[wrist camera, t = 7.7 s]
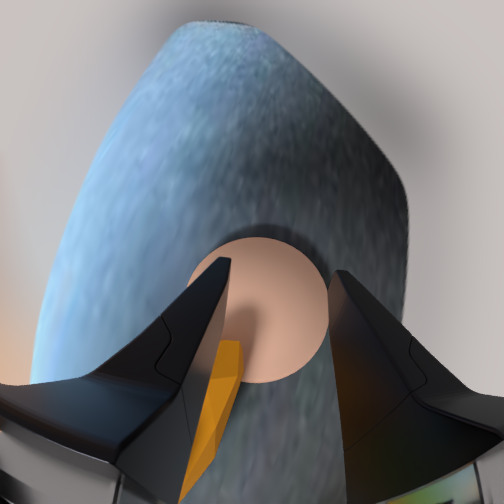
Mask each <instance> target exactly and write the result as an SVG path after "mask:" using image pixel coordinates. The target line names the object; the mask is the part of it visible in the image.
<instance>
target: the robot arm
mask: <svg viewBox="0 0 504 504" xmlns="http://www.w3.org/2000/svg"><path fill="white" fill-rule="evenodd" d="M231 262H232V259H231V258H230V257H221V256H219V257H217V258H216V259H215V260H214V261H213V262H212V263H211V264H210V265H209V266H208V267H207V268H206V269H205V270H204V271H203V272H202V273H201V274H200V275H199V276H198V277H197V278H196V279H195V280H194V281H193V282H192V283H191V284H190V285H189V286H188V287H187V288H186V289H185V290H184V291H183V292H182V293H181V294H180V295H179V296H178V297H177V298H176V299H175V300H174V301H173V302H172V303H171V304H170V305H169V306H168V307H167V308H166V309H165V310H164V311H163V312H162V313H161V314H160V316H158V317H157V318H156V319H155V320H154V321H153V322H152V323H151V324H150V325H149V326H148V327H147V328H146V329H145V330H144V331H143V332H141V333H140V334H139V335H138V336H137V337H136V338H134V339H133V340H132V341H131V342H130V343H128V344H127V345H126V346H125V347H123V348H122V349H121V350H119V351H118V352H117V353H116V354H114V355H113V356H112V357H111V358H109V359H108V360H107V361H105V362H104V363H103V364H102V365H100V366H99V367H98V368H96V369H95V370H94V371H92V372H90V373H89V374H86V375H84V376H82V377H79V378H74V379H67V380H61V381H54V382H47V383H39V384H31V385H21V386H13V385H5V384H1V383H0V504H178V502H179V498H180V494H181V490H182V486H183V482H184V478H185V474H186V470H187V466H188V462H189V458H190V454H191V450H192V446H193V442H194V438H195V435H196V431H197V427H198V423H199V419H200V415H201V411H202V407H203V404H204V400H205V396H206V392H207V388H208V384H209V381H210V377H211V373H212V369H213V365H214V362H215V358H216V354H217V350H218V346H219V343H220V339H221V335H222V331H223V327H224V322H225V314H226V306H227V298H228V290H229V282H230V272H231ZM327 297H328V318H329V336H330V344H331V350H332V357H333V364H334V371H335V379H336V386H337V394H338V402H339V411H340V420H341V429H342V439H343V450H344V464H345V477H346V493H347V504H504V397H498V396H491V395H485V394H480V393H477V392H474V391H472V390H471V389H469V388H468V387H466V386H465V385H464V384H463V383H462V382H461V381H460V380H459V379H457V378H456V377H455V376H454V375H453V374H452V373H451V372H450V371H449V370H448V369H447V368H445V367H444V366H443V365H442V364H441V363H440V362H439V361H438V360H437V359H436V358H435V357H434V356H433V355H431V354H430V353H429V352H428V351H427V350H426V349H425V348H424V347H423V346H422V345H421V344H420V343H419V341H418V340H417V339H416V338H415V337H414V336H412V334H411V333H410V332H409V331H408V330H407V329H406V328H405V327H404V326H403V325H402V324H401V323H400V322H399V321H398V320H397V319H396V318H395V317H394V316H393V315H392V314H391V313H390V312H389V311H388V310H387V309H386V308H385V307H384V306H383V305H382V304H381V303H380V302H379V301H378V300H377V299H376V298H375V297H374V296H373V295H372V294H371V293H370V292H369V291H368V290H367V289H366V288H365V287H364V286H363V285H362V284H361V283H360V282H359V281H358V280H357V279H356V278H355V277H354V276H353V275H351V274H350V273H349V272H348V271H344V270H336V271H335V272H334V274H333V277H332V280H331V283H330V285H329V288H328V294H327Z"/></svg>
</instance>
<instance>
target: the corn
mask: <svg viewBox="0 0 504 504" xmlns="http://www.w3.org/2000/svg"><path fill="white" fill-rule="evenodd" d="M243 373H244V363H243V349H242V346H241V344H240V341H232V340H221V341H220V343H219V346H218V350H217V354H216V358H215V362H214V365H213V369H212V373H211V377H210V381H209V384H208V388H207V392H206V396H205V400H204V404H203V407H202V411H201V415H200V419H199V423H198V427H197V431H196V435H195V438H194V442H193V446H192V450H191V454H190V458H189V462H188V466H187V470H186V474H185V478H184V482H183V486H182V490H181V494H180V498H179V502H178V504H179V503H180V502H181V500H182V499H183V498H184V497H185V495H186V494H187V493H188V492H189V490H190V489H191V488H192V487H193V485H194V484H195V483H196V481H197V480H198V479H199V478H200V476H201V475H202V474H203V472H204V471H205V470H206V468H207V467H208V466H209V464H210V463H211V462H212V460H213V459H214V458H215V455H216V452H217V449H218V446H219V444H220V441H221V438H222V435H223V432H224V429H225V426H226V424H227V421H228V418H229V415H230V412H231V409H232V406H233V403H234V400H235V397H236V394H237V391H238V388H239V385H240V382H241V379H242V376H243Z"/></svg>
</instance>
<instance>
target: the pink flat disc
mask: <svg viewBox="0 0 504 504" xmlns="http://www.w3.org/2000/svg"><path fill="white" fill-rule="evenodd" d="M219 256H221V257H230V258H231V259H232V262H231V272H230V282H229V290H228V298H227V306H226V314H225V322H224V327H223V331H222V335H221V339H220V341H221V340H232V341H240V344H241V346H242V349H243V363H244V373H243V376H242V379H241V382H247V383H264V382H271V381H275V380H279V379H281V378H284V377H287V376H288V375H290V374H292V373H294V372H296V371H297V370H299V369H300V368H301V367H303V366H304V365H305V364H306V363H307V362H308V361H309V360H310V359H311V358H312V357H313V355H314V354H315V353H316V352H317V350H318V348H319V347H320V345H321V343H322V341H323V339H324V337H325V334H326V331H327V328H328V322H329V318H328V297H327V294H328V293H327V289H326V286H325V283H324V281H323V279H322V277H321V275H320V273H319V271H318V270H317V268H316V267H315V266H314V264H313V263H312V262H311V261H310V260H309V259H308V258H307V257H306V256H305V255H304V254H303V253H301V252H300V251H299V250H297V249H296V248H294V247H292V246H290V245H288V244H286V243H284V242H281V241H278V240H275V239H270V238H261V237H252V238H243V239H238V240H235V241H232V242H229V243H227V244H225V245H223V246H221V247H219V248H217V249H216V250H214V251H213V252H211V253H210V254H209V255H208V256H207V257H206V258H205V259H204V260H203V261H202V262H201V263H200V264H199V265H198V267H197V268H196V270H195V271H194V273H193V274H192V276H191V278H190V280H189V282H188V285H187V287H188V286H189V285H190V284H191V283H192V282H193V281H194V280H195V279H196V278H197V277H198V276H199V275H200V274H201V273H202V272H203V271H204V270H205V269H206V268H207V267H208V266H209V265H210V264H211V263H212V262H213V261H214V260H215V259H216V258H217V257H219Z"/></svg>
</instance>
